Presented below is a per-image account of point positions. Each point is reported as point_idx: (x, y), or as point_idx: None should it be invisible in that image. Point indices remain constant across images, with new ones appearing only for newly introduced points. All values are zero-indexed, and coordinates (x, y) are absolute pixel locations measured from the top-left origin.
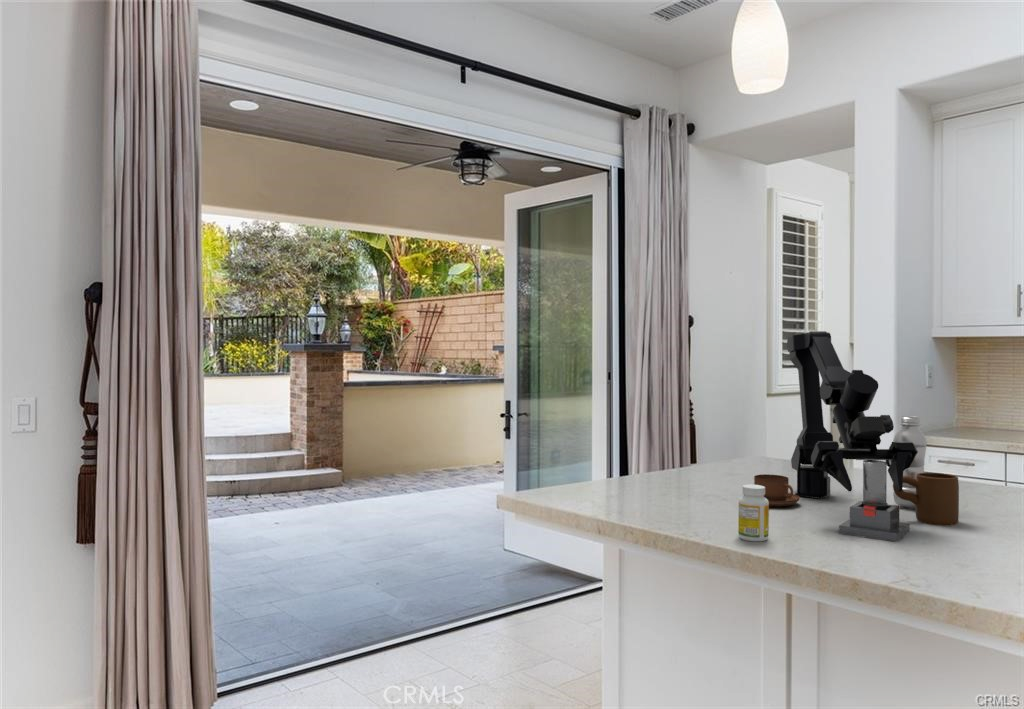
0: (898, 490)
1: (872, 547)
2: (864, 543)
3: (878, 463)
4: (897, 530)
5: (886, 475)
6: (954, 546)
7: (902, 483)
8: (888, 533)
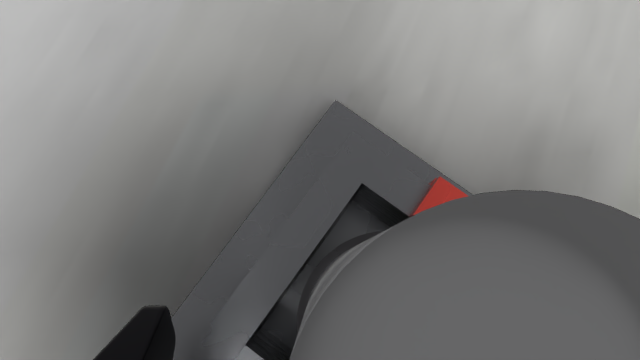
0: (172, 341)
1: (484, 15)
2: (497, 80)
3: (533, 194)
4: (301, 171)
5: (303, 316)
6: (103, 56)
7: (101, 352)
8: (368, 124)
